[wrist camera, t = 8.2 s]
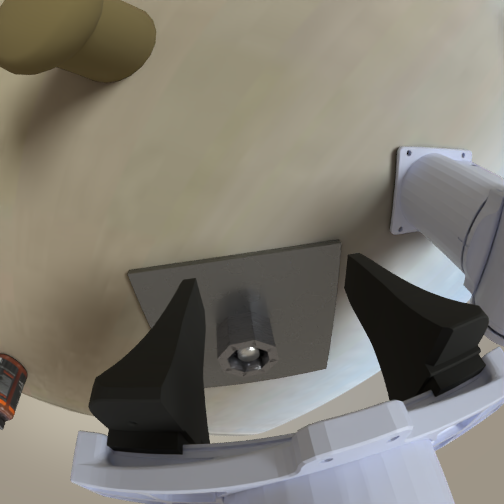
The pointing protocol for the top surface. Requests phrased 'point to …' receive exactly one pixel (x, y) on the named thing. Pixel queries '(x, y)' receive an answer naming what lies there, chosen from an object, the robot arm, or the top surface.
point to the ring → (246, 344)
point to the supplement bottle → (10, 387)
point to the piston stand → (257, 303)
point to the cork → (75, 37)
